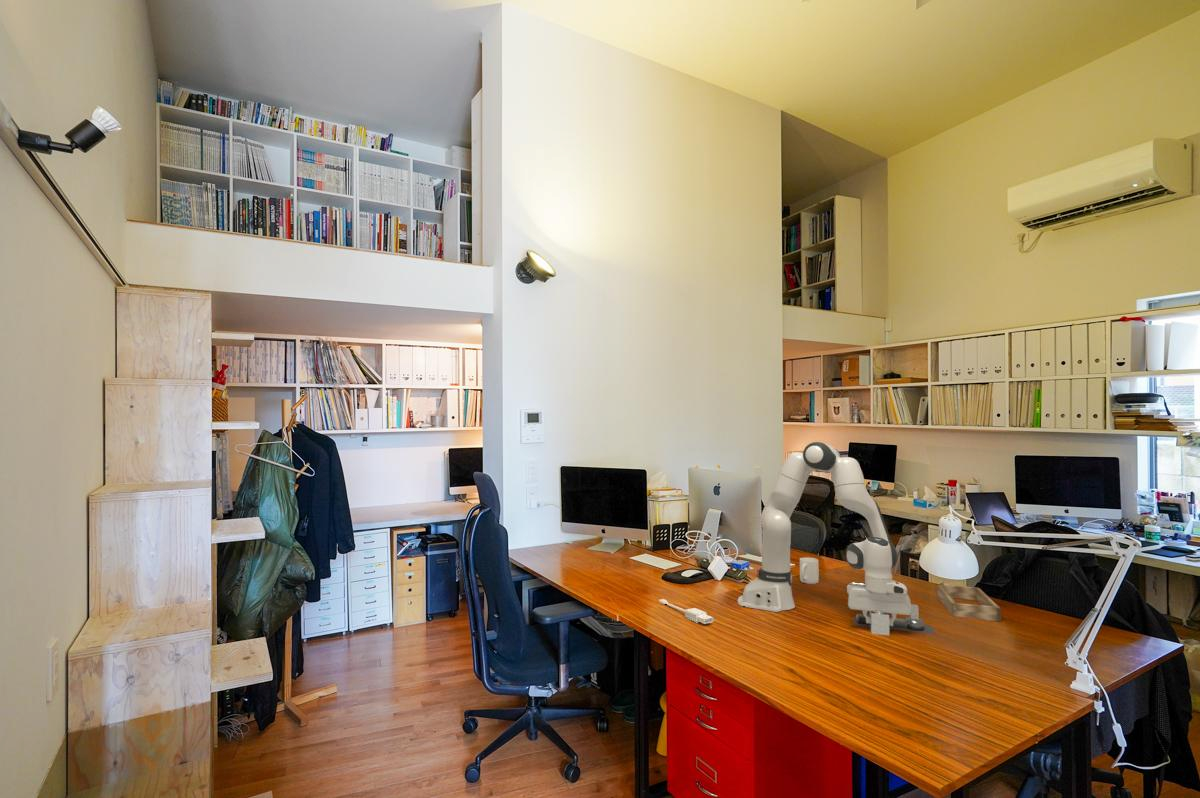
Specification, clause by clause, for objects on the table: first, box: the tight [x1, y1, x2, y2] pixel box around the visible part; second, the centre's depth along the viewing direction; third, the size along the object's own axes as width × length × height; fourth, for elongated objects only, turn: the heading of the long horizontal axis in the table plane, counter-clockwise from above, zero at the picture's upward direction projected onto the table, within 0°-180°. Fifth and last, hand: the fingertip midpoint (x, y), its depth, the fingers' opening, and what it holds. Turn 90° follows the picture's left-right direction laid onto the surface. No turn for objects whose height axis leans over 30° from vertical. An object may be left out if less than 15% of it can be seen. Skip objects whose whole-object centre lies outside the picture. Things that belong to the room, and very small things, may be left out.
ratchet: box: [855, 603, 925, 631], centre depth 207 cm, size 22×6×8 cm, turn 70°
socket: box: [869, 611, 890, 636], centre depth 200 cm, size 6×6×8 cm
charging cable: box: [658, 598, 714, 625], centre depth 222 cm, size 5×32×3 cm, turn 28°
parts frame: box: [936, 583, 1002, 623], centre depth 228 cm, size 15×28×5 cm, turn 160°
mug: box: [799, 557, 820, 585], centre depth 265 cm, size 12×8×10 cm
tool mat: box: [852, 617, 937, 635], centre depth 207 cm, size 26×9×1 cm, turn 70°
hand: (879, 624), depth 200 cm, fingers closed on socket, 6 cm apart
